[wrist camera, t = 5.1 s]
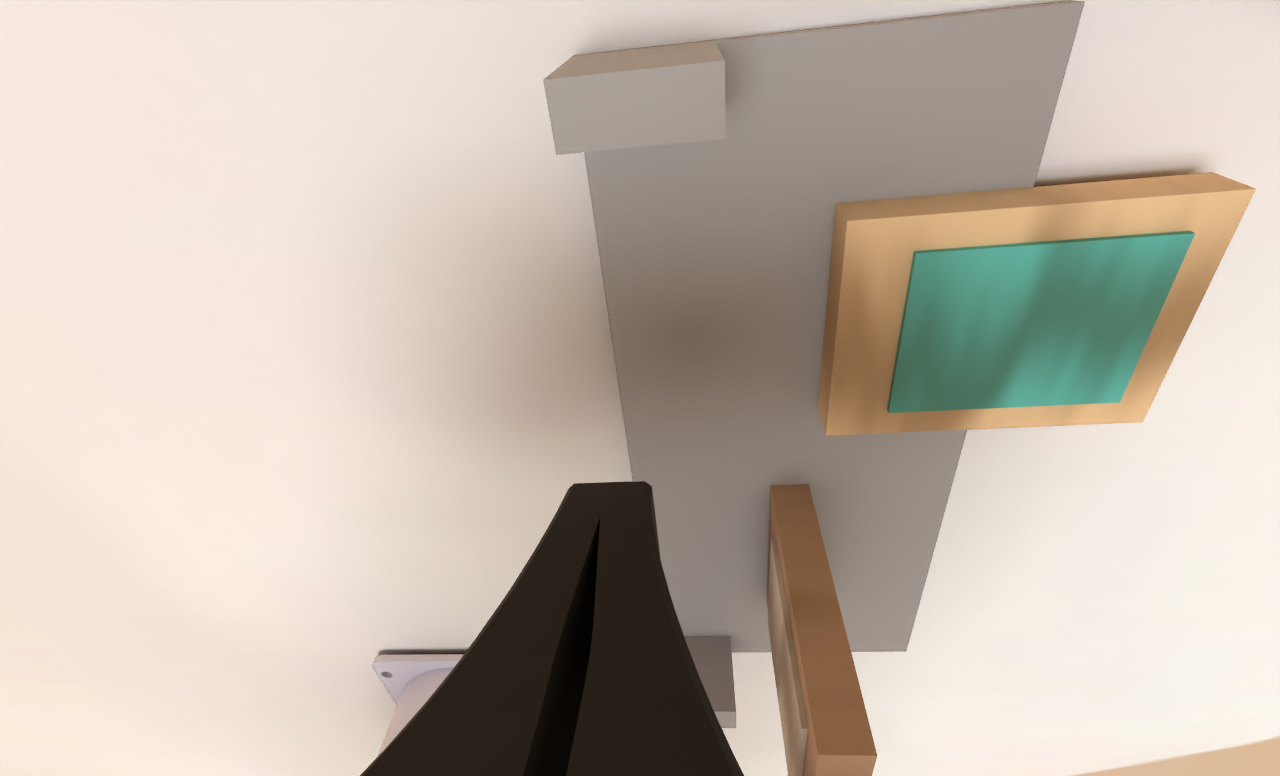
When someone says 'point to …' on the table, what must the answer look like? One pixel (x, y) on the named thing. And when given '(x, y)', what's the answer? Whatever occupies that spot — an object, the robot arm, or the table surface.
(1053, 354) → the oak tile
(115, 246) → the table surface
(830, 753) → the walnut tile
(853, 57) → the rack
